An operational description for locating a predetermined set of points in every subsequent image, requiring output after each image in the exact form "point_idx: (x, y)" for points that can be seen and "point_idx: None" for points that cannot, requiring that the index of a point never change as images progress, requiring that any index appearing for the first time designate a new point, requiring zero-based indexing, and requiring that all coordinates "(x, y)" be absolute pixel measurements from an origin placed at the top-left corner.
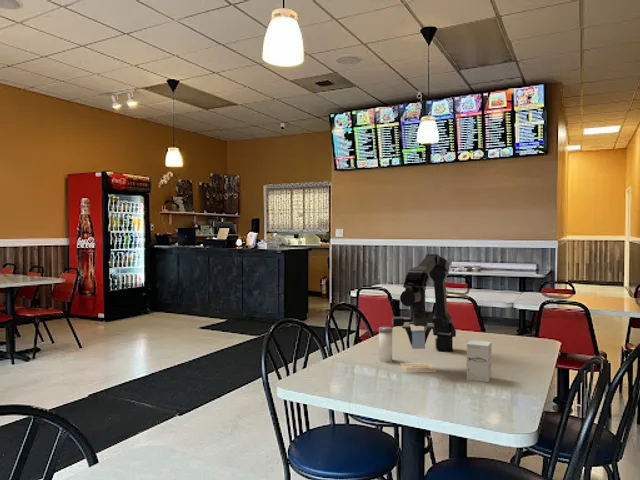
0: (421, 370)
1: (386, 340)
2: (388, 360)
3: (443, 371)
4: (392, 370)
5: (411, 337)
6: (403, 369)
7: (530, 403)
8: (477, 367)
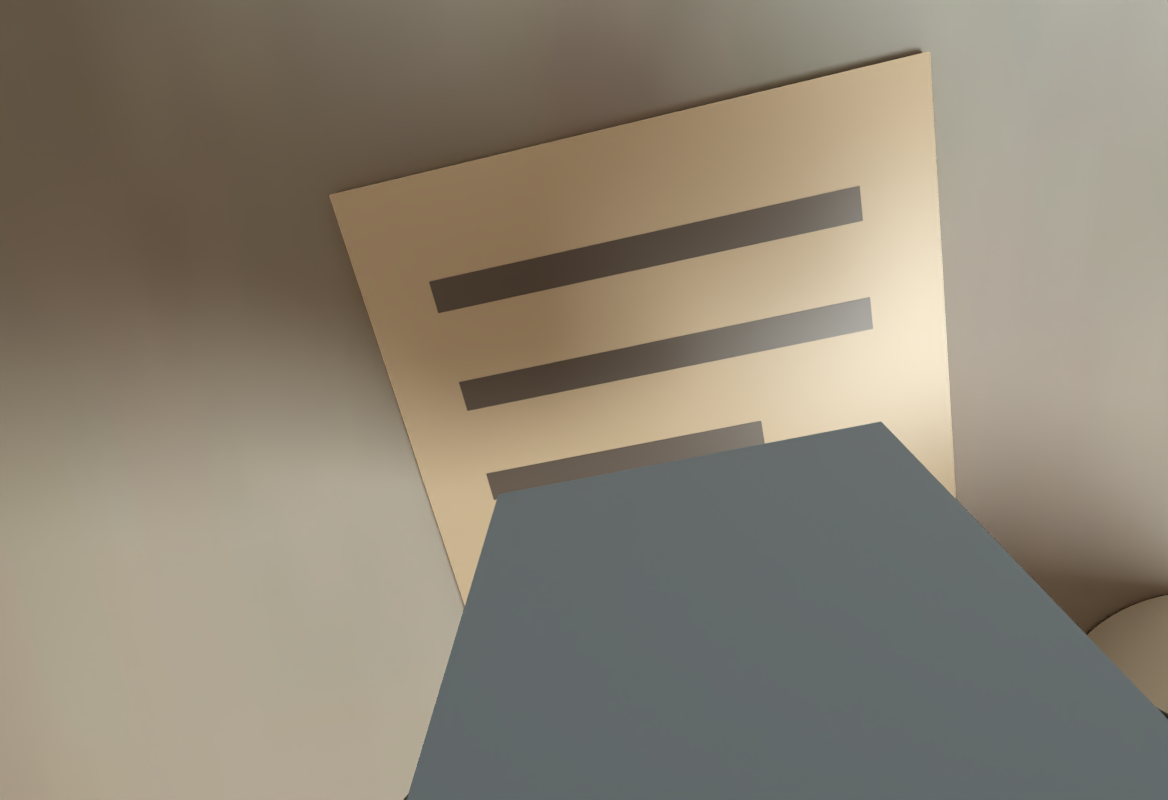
0: (601, 227)
1: None
2: (1155, 626)
3: (247, 300)
4: (1126, 151)
5: None
6: (923, 214)
7: None
8: None
